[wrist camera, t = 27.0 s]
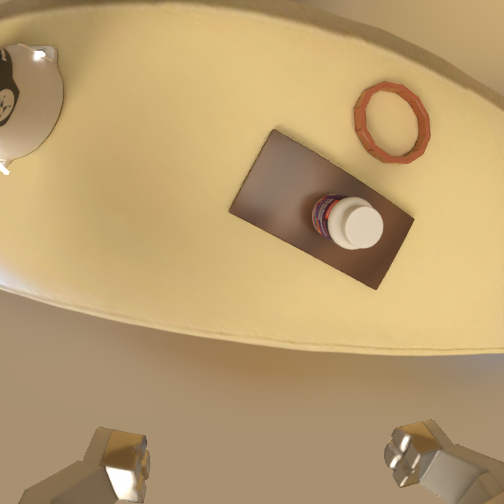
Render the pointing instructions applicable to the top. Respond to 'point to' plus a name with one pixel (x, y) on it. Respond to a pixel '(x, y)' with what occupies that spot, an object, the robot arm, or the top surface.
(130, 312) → the top surface
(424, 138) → the ring
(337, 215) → the pill bottle
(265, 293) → the top surface
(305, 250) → the board
